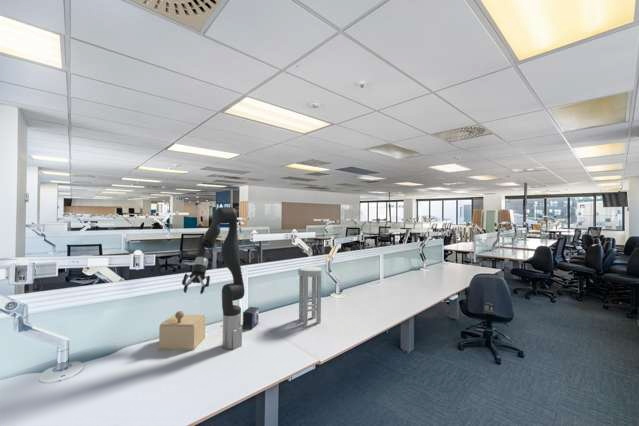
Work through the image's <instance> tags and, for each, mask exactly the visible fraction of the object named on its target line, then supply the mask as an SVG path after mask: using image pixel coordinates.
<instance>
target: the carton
mask: <svg viewBox="0 0 639 426" xmlns="http://www.w3.org/2000/svg"><path fill="white" fill-rule="evenodd" d="M158 330H159V331H158V332H159V334H158V335H159V337H158V340H159V341H158V350H163V351H164V350H165V351H166V350H170V351H171V350H172V351H174V350H175V351H194V350H195V349H196V348H198V347H199V345H200V344H201V343H202V342H203V341H204V340H205V338H206V316H205V317H204V318H203V319H201V320H200V321H199V322H198V323H197V324H196V325H195V326H160V325H159V329H158Z"/></svg>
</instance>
